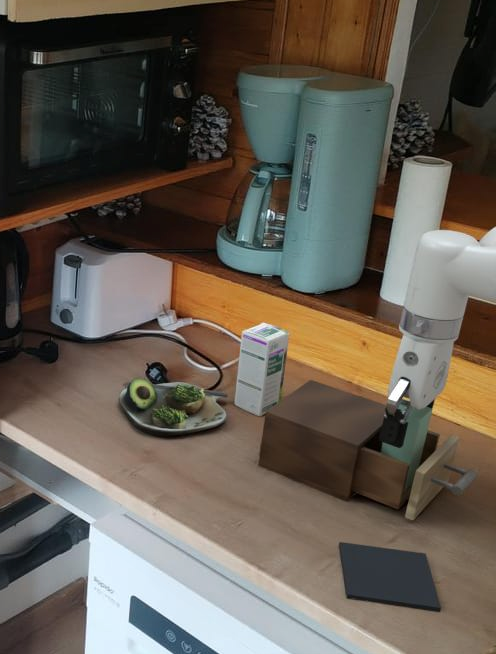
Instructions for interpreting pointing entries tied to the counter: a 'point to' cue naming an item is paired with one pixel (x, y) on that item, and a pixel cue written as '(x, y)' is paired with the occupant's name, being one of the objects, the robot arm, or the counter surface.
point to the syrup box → (261, 368)
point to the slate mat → (388, 576)
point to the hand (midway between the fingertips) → (404, 431)
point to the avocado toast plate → (170, 407)
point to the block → (411, 441)
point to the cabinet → (319, 436)
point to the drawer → (391, 474)
